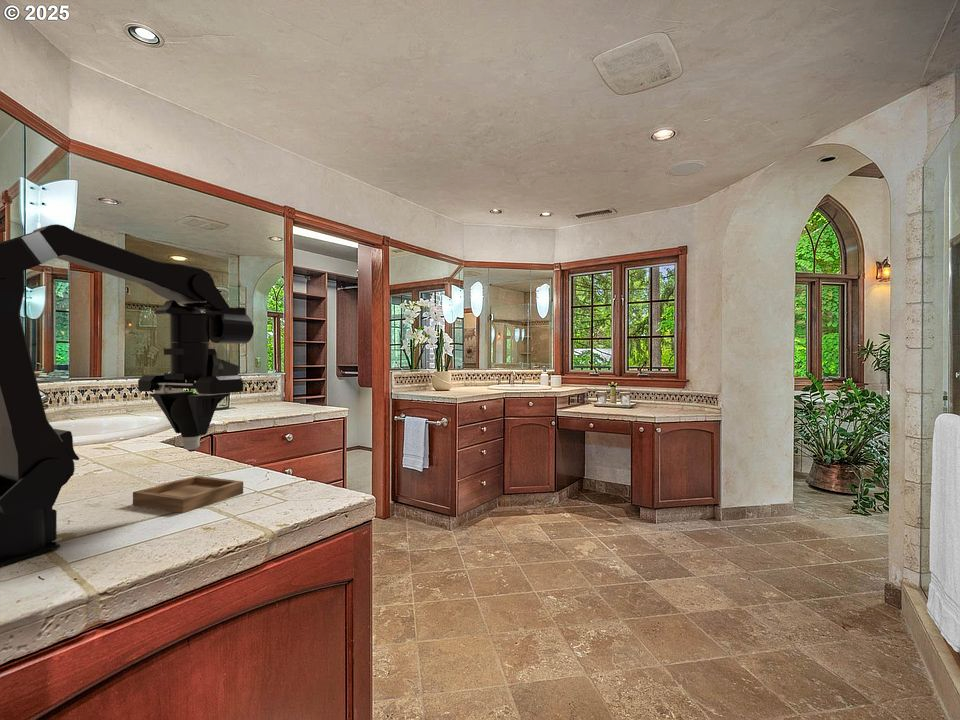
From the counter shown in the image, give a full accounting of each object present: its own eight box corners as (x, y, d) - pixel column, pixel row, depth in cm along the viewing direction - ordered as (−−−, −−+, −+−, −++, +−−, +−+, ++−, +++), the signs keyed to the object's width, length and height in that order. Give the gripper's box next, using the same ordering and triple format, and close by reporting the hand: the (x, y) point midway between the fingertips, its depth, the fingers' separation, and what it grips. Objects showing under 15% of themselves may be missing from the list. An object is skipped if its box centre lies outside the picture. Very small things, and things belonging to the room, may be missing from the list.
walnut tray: (183, 513, 76) (182, 499, 76) (132, 504, 80) (132, 492, 80) (243, 493, 88) (243, 481, 88) (196, 486, 92) (196, 475, 92)
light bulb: (196, 455, 77) (195, 394, 77) (162, 455, 77) (161, 394, 77) (218, 448, 83) (217, 391, 83) (186, 448, 83) (186, 392, 83)
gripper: (268, 343, 84) (269, 430, 84) (196, 344, 91) (197, 424, 91) (212, 341, 73) (213, 441, 74) (135, 343, 80) (136, 433, 81)
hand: (191, 434), depth 80 cm, fingers closed on light bulb, 5 cm apart
